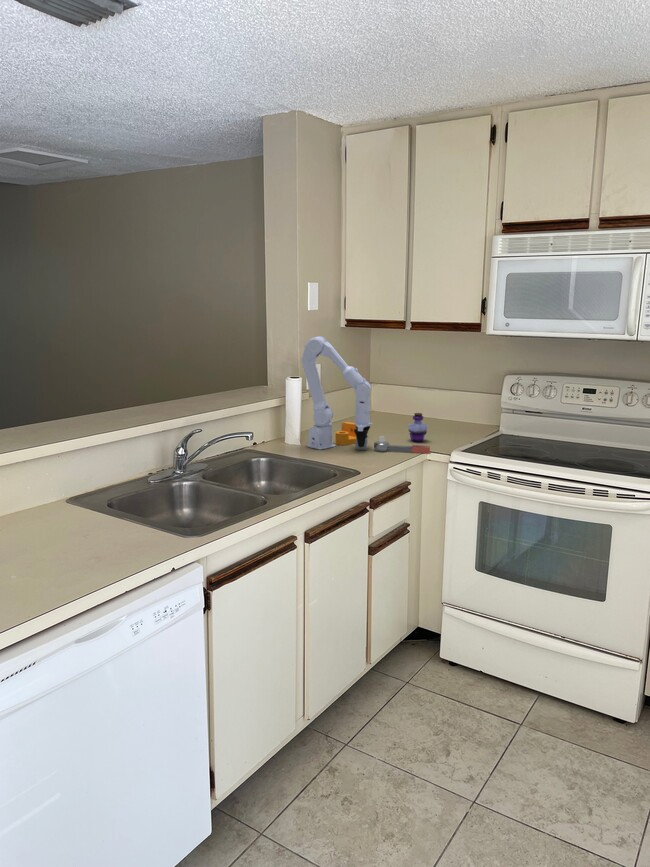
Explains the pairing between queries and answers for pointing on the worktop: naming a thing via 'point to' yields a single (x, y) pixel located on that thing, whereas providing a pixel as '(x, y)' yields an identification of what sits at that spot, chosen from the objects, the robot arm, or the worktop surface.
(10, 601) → the worktop surface
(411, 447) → the ratchet
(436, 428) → the worktop surface
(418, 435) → the potion bottle
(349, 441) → the bracket
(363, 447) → the grey brushed cube
